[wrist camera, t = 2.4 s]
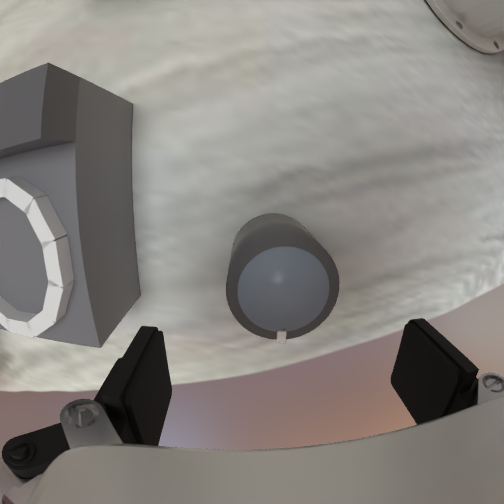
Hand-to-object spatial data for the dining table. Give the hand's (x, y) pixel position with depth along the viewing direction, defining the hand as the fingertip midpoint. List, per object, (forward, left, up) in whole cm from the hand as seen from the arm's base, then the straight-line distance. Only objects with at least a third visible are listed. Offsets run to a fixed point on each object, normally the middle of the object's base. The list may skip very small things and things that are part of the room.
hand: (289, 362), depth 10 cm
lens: (0, -1, -13) cm, 12 cm away
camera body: (+16, -5, -12) cm, 20 cm away
